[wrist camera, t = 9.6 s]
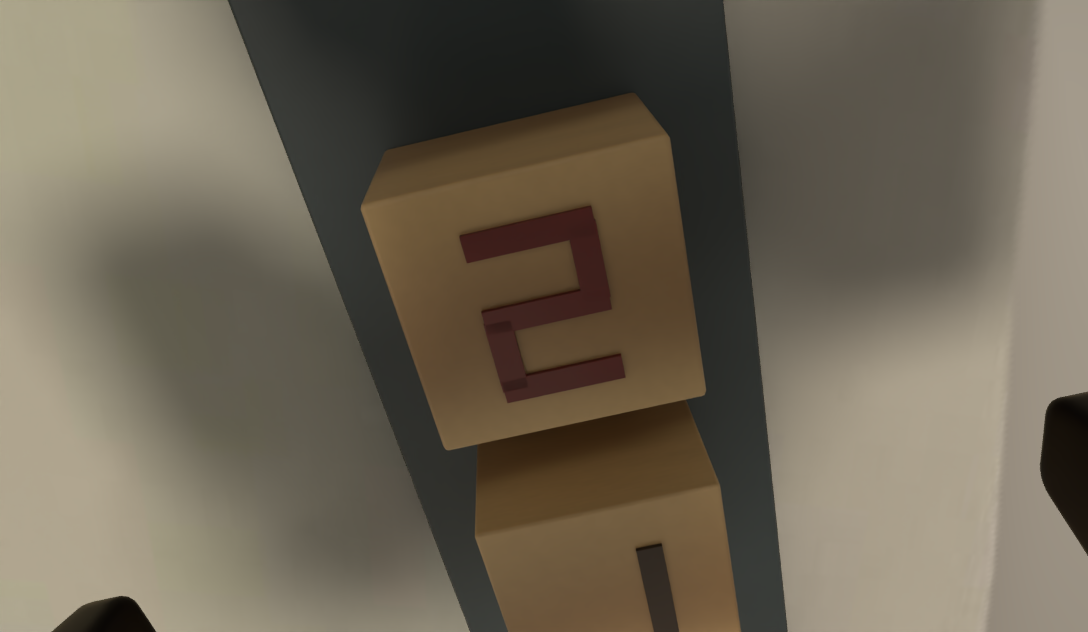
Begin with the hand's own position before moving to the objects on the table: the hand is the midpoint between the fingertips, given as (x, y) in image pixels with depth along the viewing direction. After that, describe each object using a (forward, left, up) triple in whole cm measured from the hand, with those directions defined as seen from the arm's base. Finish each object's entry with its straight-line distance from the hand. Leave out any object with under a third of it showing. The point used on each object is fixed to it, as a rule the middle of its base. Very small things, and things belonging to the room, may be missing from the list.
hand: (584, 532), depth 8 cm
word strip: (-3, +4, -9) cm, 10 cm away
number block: (0, 0, -8) cm, 8 cm away
